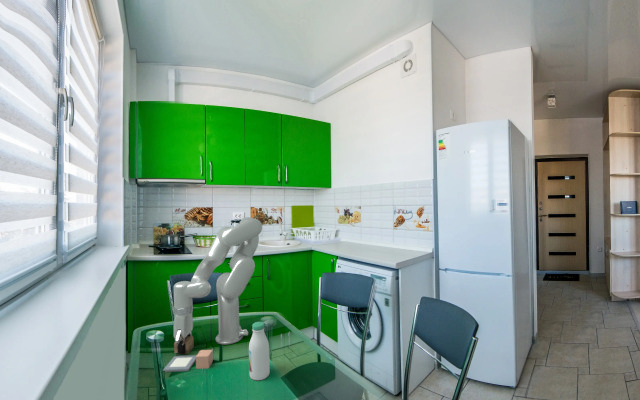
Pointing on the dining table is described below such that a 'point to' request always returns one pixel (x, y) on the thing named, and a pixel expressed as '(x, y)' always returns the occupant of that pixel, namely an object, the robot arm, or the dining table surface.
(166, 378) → the dining table surface
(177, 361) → the plate
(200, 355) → the terracotta block
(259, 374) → the milk bottle
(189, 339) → the walnut block
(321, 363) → the dining table surface
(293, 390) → the dining table surface
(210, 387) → the dining table surface
